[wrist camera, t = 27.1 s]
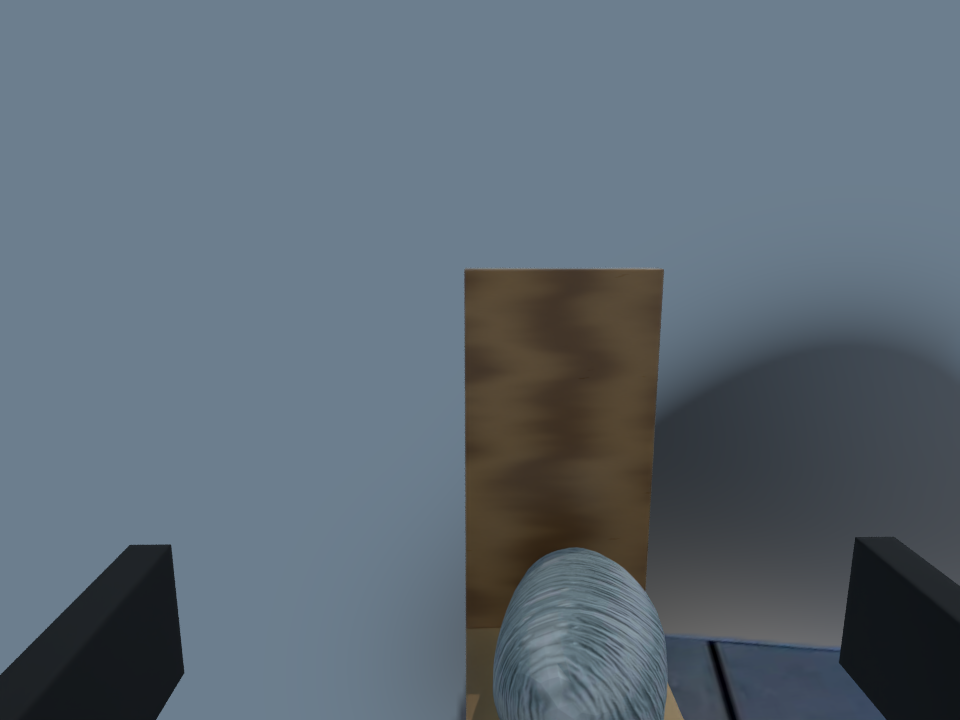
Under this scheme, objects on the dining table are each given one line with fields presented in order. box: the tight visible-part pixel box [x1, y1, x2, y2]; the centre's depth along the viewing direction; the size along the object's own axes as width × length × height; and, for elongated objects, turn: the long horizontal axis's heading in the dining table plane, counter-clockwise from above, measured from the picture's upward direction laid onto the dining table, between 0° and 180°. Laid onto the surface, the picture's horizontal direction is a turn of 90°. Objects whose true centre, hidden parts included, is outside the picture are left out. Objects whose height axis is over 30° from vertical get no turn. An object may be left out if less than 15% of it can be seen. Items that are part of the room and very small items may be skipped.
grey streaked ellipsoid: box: [493, 547, 667, 720], centre depth 37 cm, size 14×10×10 cm
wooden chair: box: [464, 268, 684, 720], centre depth 37 cm, size 12×19×46 cm, turn 1°
